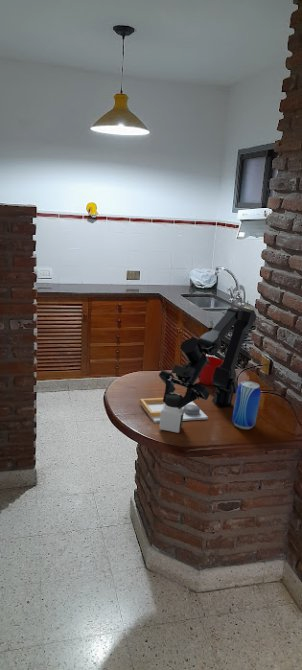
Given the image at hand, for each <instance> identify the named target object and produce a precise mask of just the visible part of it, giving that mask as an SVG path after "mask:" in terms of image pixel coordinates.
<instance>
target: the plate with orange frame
mask: <svg viewBox="0 0 302 670" xmlns="http://www.w3.org/2000/svg"><path fill="white" fill-rule="evenodd" d="M163 398H164V397H158V398H157V397H155V398H152V397H151V398H140V399H139V404H140V406H141V407H142V408H143V409H144V411H145V412H146V414H147V415H148V417H150V419H151V420H152V421H153V422H154V423H157V424H158V423H160V415H161V410H162V408H163V405H164V402H163ZM208 419H209V416H207V414H205V413H204V411H203V410H201V408H200V407H199V406H198V405H197V404H196V403H195V402H194V401H192V402H190V403H188V404H187V405H185V406H184V414H183V421H184V422H186V421H198V420H199V421H201V420H202V421H203V420H208Z"/></svg>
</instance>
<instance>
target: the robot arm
mask: <svg viewBox="0 0 302 670" xmlns="http://www.w3.org/2000/svg"><path fill="white" fill-rule="evenodd" d="M256 320H257V313H256V311H255V310H254V309H251V308H246V307H243V306H238V307H237V308H236V307H233V306H230V307H228V308H227V310H226V313H225V314H223V316H222V317H221V318H220V320H219V321H218V322H217V323H216V324H215V325H214V326H213V328H212V329H211V330H210V331H207V332H204V333H203V334H202V335H201V336H200V337H199V338H198V337H195V336H191V338H187V339H185V340H184V341H182V342H181V344H180V350H181V352H182V354H183V355H184V356H185V359H186V360H187V363H186V364H185V363H184V364H182V366H181V365H178V364H176V363H174V365H173V368H172V370H171V372H170V371H167V370H165V369H162V370H160V372H159V374H158V377H159V378H160V380H161V381H162V382H163V383H164V384H165V388H164V394H163V397H162V398H163V402H164V403H165V397H166V395H167V394H168V393H175V391H176V387H175V385H176V386H180V387H182V388H184V389H186V391H185V394H184V396H183V399H182V401H181V402H180V404H179V406H178V409H181V408H182V407H184V406H185V405H187V404H188V403H190V402H192V401H193V402H194V401H195V400H196V401H197V400H200V399H201V400H204V401H207V400H208V399H209V397H210V391H209V390H208V388H207V387H206V385H205V384H202V383H201V384H200V383H198V382H196V381H197V379H198V380H199V378H200V377H201V376H200V373H201V371H202V370H203V368H204V366H205V365H209V358H208V357H206V356H210V357H215V355H216V354H217V353H218V352H219V350H220V348H221V347H222V344H221V341H223V339H224V337H226V335H227V334H228V333H229V332H230V330H231V329H232V328H233V330H232V333H231V335H230V336H231V337H230V340H229V343H228V344H227V345H228V346H227V349H226V351H225V355H224V359H222V360H223V363H222V365H220V366H219V367H216V369H215V372H214V375H213V378H212V381H213V385H212V388H215V391H214V393H213V399H211V401H212V402H213V403H214V404H215V405H216V406H217V408H218V407H219V408H225V407H226V408H229V407H230V408H231V407H234V404H233V403H232V402H233V395H234V394H237V388H238V386H239V385H238V383H237V381H236V379H237V372H236V364H237V361H238V358H239V355H240V351H241V349H242V345H243V342H244V340H245V336H246V333H247V332H248V331H249V330H250V329H251V328H253V326H254V323H255V322H256ZM174 374H175V375H174ZM175 376H176V377H175Z"/></svg>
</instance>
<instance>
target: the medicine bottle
mask: <svg viewBox="0 0 302 670" xmlns="http://www.w3.org/2000/svg"><path fill="white" fill-rule="evenodd" d="M183 397H184V396H182V394H180V393H177V392H173V393H168V394H167V395H166V397H165V403H164V405H163V408H162V410H161V415H160V422H159V424H158V425H159V426H158V429H159V430H162V431H167V432H172V433H177V434H178V433H180V431H181V428H182V426H183V414H184V407H182V408H181V409H178V406H179V404H180V402H181V401H182V399H183Z"/></svg>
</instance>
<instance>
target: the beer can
mask: <svg viewBox="0 0 302 670" xmlns="http://www.w3.org/2000/svg"><path fill="white" fill-rule="evenodd" d="M235 394H236V395H235V401H234V404H233V413H232V418H231V421H232V423H233V425H234V426H235V427H237V428H238V429H241V430H250V429H252V428H253V427H254V426H255V425H256V422H257V417H258V411H259V405H260V402H261V395H262V391H261V389H260V384H259V383H257V382H254V381H251V380H243V381H241V382H240V384H239V385H238V388H237V392H236V393H235Z"/></svg>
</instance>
